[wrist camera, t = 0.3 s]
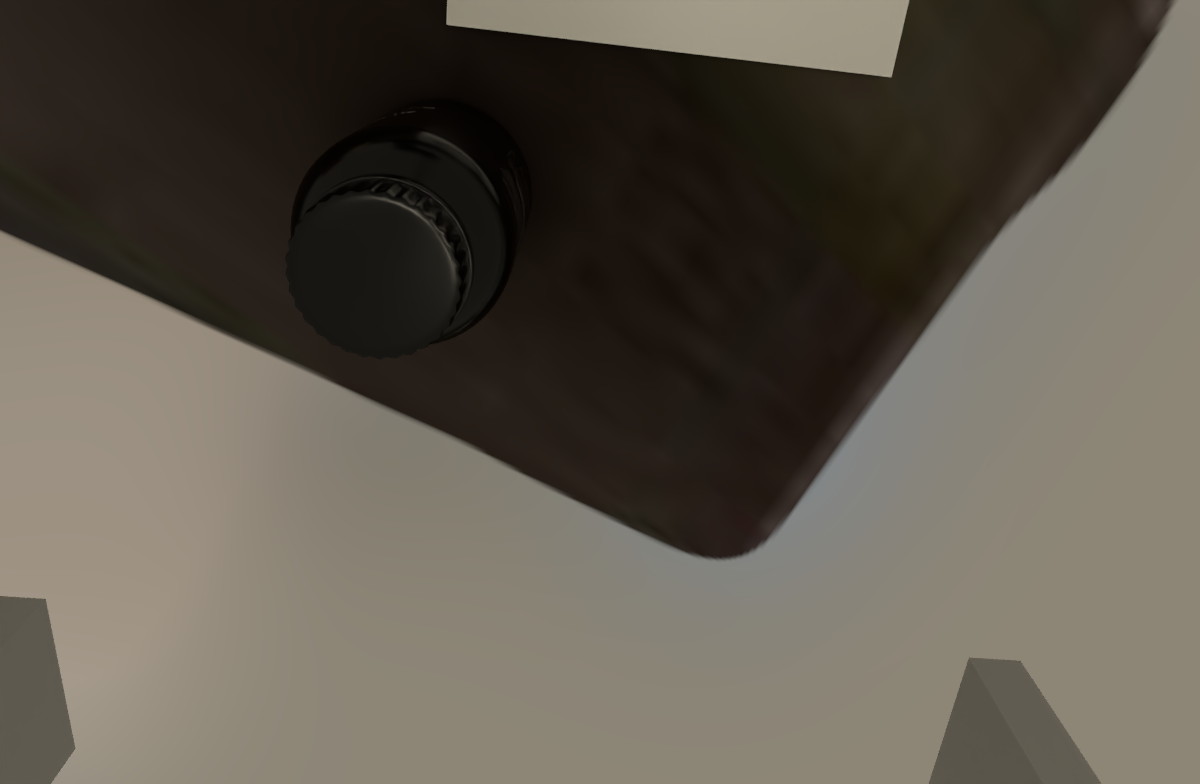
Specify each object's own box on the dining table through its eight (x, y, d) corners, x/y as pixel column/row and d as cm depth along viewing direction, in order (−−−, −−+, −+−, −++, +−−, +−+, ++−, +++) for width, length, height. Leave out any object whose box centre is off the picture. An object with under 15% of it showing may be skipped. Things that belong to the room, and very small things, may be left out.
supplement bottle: (397, 63, 33) (298, 93, 22) (562, 150, 34) (549, 221, 23) (330, 227, 35) (212, 328, 24) (487, 302, 36) (443, 432, 25)
